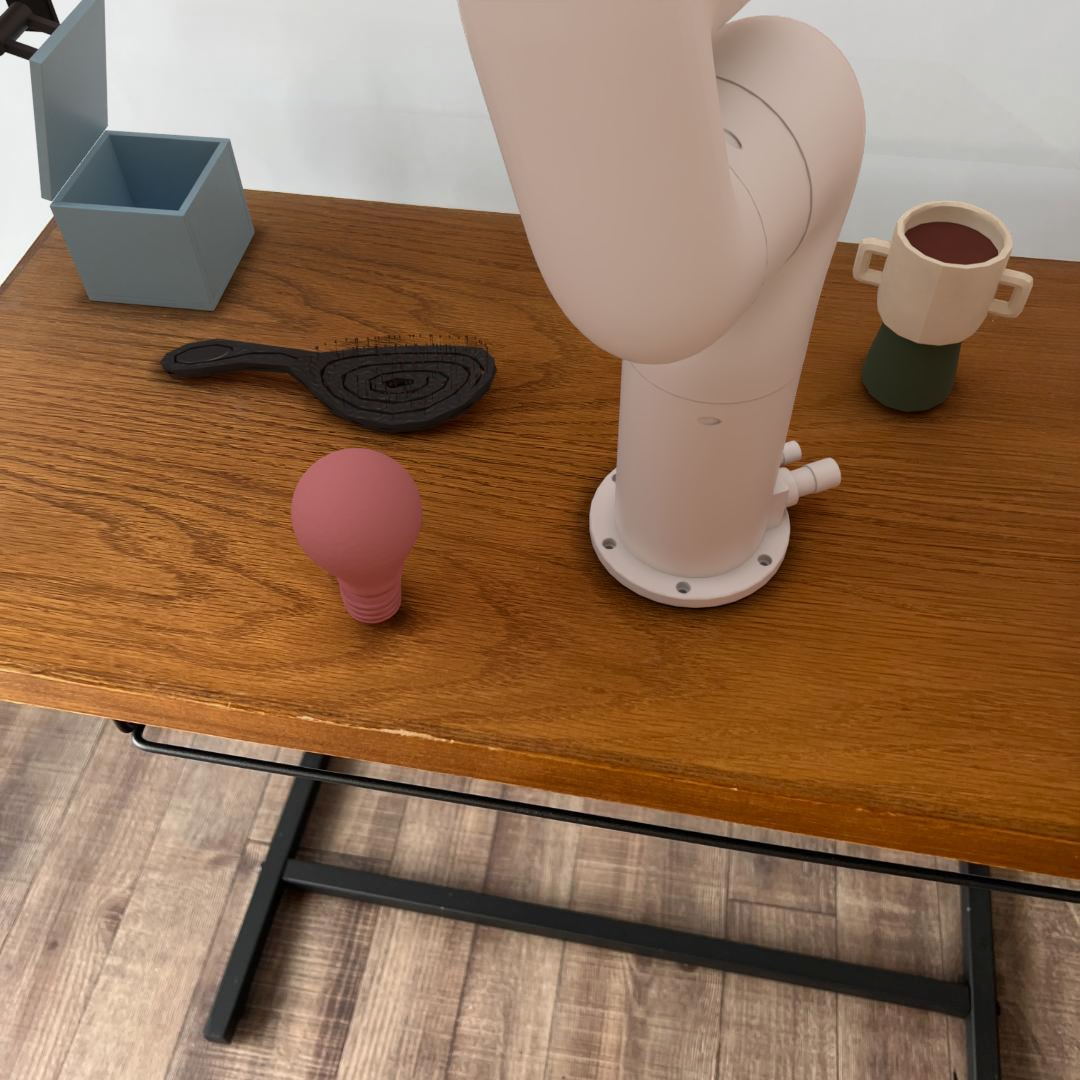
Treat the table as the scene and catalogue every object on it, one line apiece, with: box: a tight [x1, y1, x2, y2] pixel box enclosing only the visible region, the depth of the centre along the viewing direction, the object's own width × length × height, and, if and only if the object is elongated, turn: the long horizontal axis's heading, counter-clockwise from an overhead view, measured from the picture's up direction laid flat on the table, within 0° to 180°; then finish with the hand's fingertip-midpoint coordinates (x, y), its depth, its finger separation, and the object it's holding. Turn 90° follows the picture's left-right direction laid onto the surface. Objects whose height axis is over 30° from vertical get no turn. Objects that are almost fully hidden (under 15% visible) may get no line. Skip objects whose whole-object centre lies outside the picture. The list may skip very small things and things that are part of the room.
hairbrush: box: [160, 333, 498, 434], centre depth 77 cm, size 8×4×25 cm
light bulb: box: [290, 447, 423, 624], centre depth 61 cm, size 7×7×12 cm
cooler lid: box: [0, 0, 109, 202], centre depth 76 cm, size 11×10×5 cm
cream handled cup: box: [852, 199, 1034, 413], centre depth 72 cm, size 11×7×13 cm, turn 66°
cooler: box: [49, 129, 256, 312], centre depth 84 cm, size 10×10×9 cm
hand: (9, 63), depth 75 cm, fingers open, 9 cm apart
